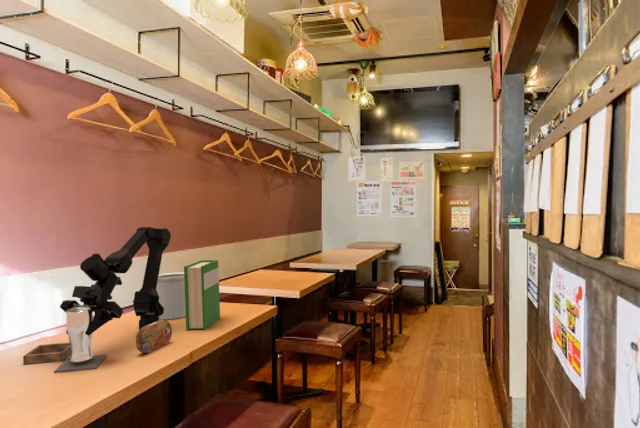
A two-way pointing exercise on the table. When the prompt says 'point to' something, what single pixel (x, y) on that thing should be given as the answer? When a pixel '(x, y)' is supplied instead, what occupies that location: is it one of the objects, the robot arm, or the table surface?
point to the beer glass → (80, 333)
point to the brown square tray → (48, 353)
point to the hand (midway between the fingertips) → (77, 334)
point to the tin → (153, 336)
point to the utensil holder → (172, 295)
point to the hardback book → (202, 294)
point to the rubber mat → (81, 364)
